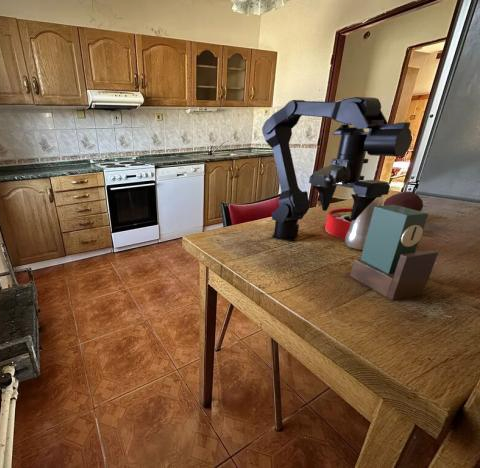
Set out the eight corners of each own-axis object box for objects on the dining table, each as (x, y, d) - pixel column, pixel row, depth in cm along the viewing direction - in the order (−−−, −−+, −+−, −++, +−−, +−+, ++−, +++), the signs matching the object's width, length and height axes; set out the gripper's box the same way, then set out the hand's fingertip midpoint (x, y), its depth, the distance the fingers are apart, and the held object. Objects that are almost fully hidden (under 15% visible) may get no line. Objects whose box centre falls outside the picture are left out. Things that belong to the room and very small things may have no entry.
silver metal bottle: (362, 254, 73) (381, 184, 66) (338, 246, 78) (353, 180, 71) (375, 249, 76) (394, 181, 68) (350, 241, 81) (366, 178, 74)
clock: (360, 259, 61) (374, 206, 56) (378, 257, 62) (393, 204, 57) (390, 275, 54) (409, 216, 49) (410, 272, 55) (431, 214, 50)
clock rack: (349, 276, 62) (359, 238, 59) (376, 271, 64) (387, 234, 60) (392, 300, 53) (407, 257, 50) (422, 294, 55) (439, 252, 51)
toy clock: (332, 205, 99) (399, 213, 88) (329, 220, 101) (395, 229, 90) (324, 219, 84) (404, 230, 73) (320, 235, 87) (398, 249, 75)
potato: (373, 217, 102) (380, 192, 98) (391, 212, 107) (399, 188, 103) (406, 225, 93) (415, 197, 89) (425, 219, 98) (435, 193, 94)
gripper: (296, 153, 70) (288, 208, 76) (357, 159, 53) (341, 229, 59) (331, 151, 72) (321, 205, 78) (400, 156, 55) (381, 224, 61)
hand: (337, 215), depth 69 cm, fingers open, 9 cm apart
